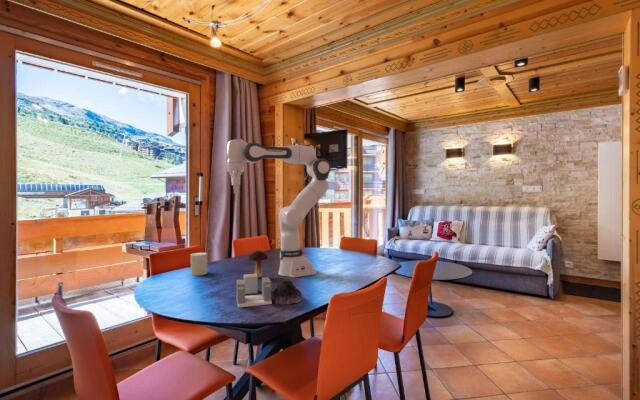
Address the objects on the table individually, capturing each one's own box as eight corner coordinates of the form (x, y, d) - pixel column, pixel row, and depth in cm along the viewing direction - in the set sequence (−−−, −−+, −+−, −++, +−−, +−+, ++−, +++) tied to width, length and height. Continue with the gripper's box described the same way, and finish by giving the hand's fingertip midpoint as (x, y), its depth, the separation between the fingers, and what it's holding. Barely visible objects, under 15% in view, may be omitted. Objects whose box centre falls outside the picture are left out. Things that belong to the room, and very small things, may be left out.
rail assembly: (268, 295, 146) (267, 276, 146) (271, 303, 136) (271, 282, 136) (236, 299, 142) (236, 278, 142) (237, 307, 132) (237, 285, 131)
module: (256, 289, 156) (256, 273, 155) (257, 293, 151) (257, 275, 151) (243, 291, 154) (243, 274, 154) (244, 294, 149) (244, 277, 149)
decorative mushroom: (264, 280, 172) (264, 252, 172) (245, 279, 174) (244, 252, 173) (270, 275, 183) (270, 249, 182) (252, 274, 184) (252, 248, 184)
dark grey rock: (288, 295, 150) (285, 273, 150) (310, 298, 142) (307, 276, 141) (266, 305, 140) (263, 282, 140) (288, 309, 131) (285, 285, 131)
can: (191, 272, 190) (190, 252, 190) (207, 271, 193) (207, 251, 193) (189, 276, 182) (189, 255, 181) (207, 274, 184) (206, 254, 184)
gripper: (242, 167, 166) (243, 193, 166) (240, 169, 186) (240, 193, 186) (230, 167, 164) (230, 194, 165) (229, 169, 184) (229, 193, 184)
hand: (235, 193), depth 175 cm, fingers open, 8 cm apart
